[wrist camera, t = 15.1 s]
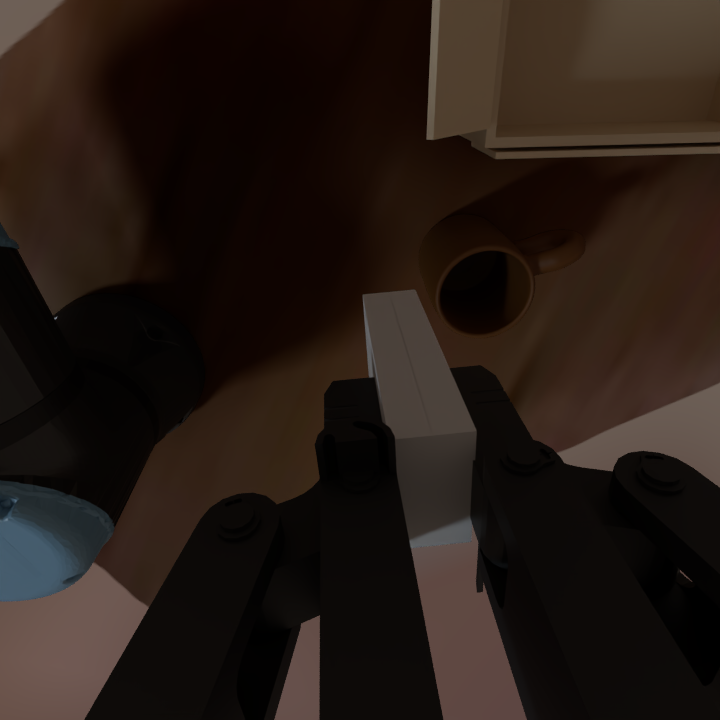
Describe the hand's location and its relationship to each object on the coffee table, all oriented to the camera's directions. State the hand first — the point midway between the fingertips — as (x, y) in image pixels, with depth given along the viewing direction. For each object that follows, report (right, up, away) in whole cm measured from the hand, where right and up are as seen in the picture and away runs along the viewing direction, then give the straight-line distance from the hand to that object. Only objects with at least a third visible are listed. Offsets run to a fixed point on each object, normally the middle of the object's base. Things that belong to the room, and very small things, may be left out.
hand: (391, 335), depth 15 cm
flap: (+5, +17, +10) cm, 21 cm away
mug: (+10, +10, +30) cm, 33 cm away
